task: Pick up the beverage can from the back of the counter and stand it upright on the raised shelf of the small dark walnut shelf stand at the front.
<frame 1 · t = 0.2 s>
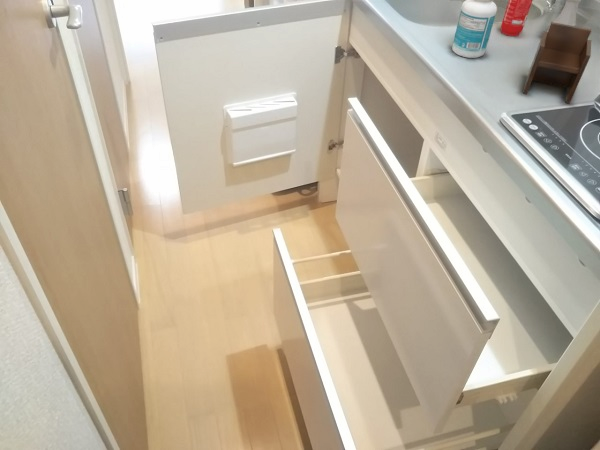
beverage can: (509, 33, 128), on the countertop
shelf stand: (547, 90, 107), on the countertop
pill bottle: (467, 53, 119), on the countertop
flask: (558, 40, 126), on the countertop
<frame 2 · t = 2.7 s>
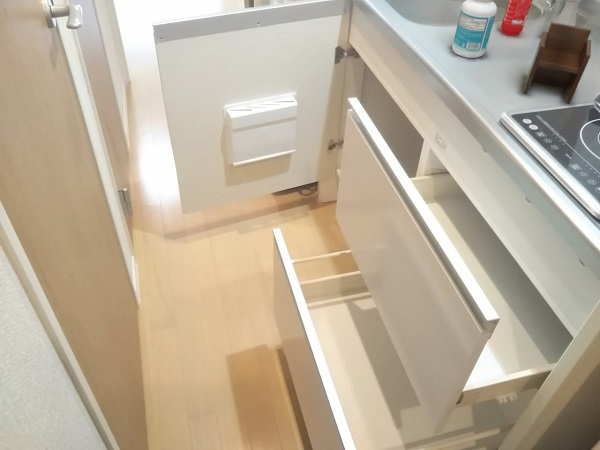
nothing on the countertop moved.
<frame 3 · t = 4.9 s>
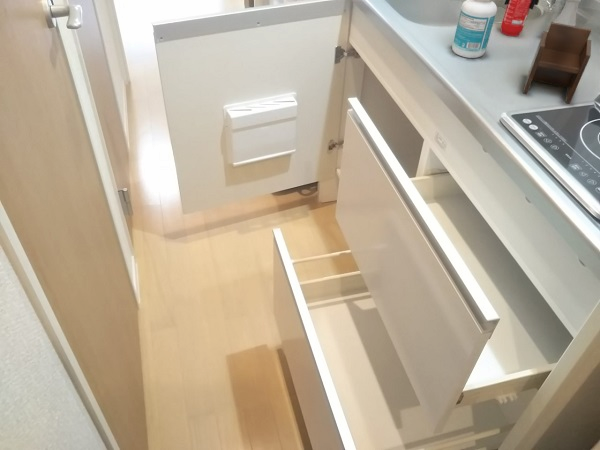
hand: (519, 4, 124), 7 cm above the countertop, tool pointing down, fingers closed on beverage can, 5 cm apart
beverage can: (509, 33, 128), on the countertop, touching gripper
everything else where it was.
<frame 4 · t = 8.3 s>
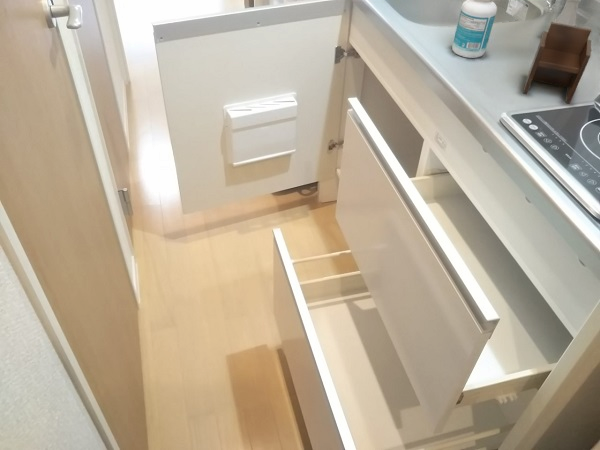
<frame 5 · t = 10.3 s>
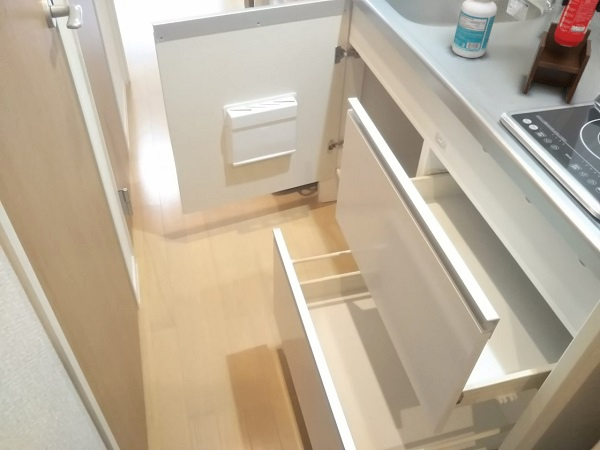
hand: (581, 5, 95), 17 cm above the countertop, tool pointing down, fingers closed on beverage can, 5 cm apart
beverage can: (565, 42, 100), point 10 cm above the countertop, touching gripper
everything else where it was.
when the fingers open (14 cm above the countertop, at t = 11.6 s): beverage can stays where it is, resting on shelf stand.
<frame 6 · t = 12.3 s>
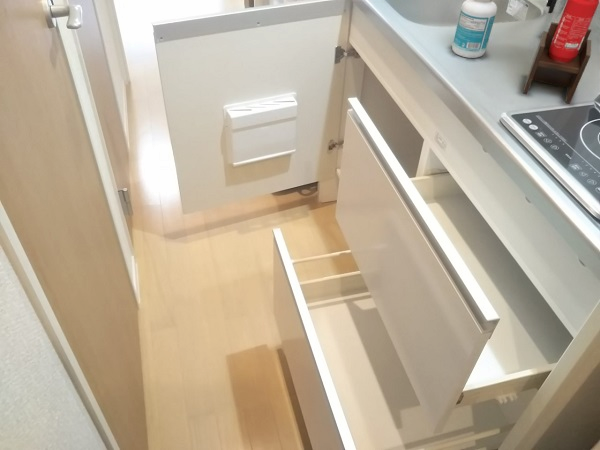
hand: (577, 15, 96), 15 cm above the countertop, tool pointing down, fingers open, 9 cm apart
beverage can: (560, 58, 102), point 7 cm above the countertop, touching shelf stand
everything else where it was.
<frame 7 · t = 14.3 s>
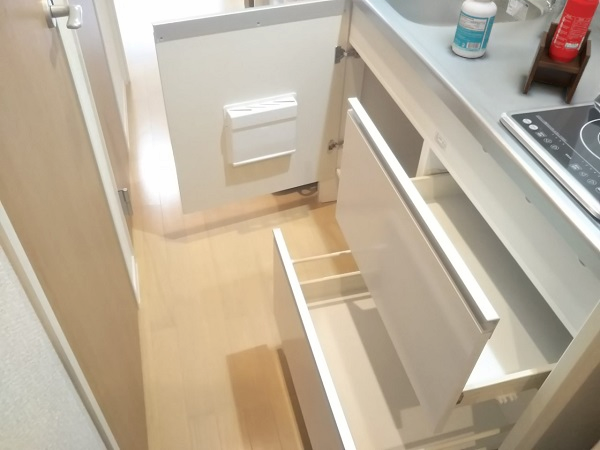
nothing on the countertop moved.
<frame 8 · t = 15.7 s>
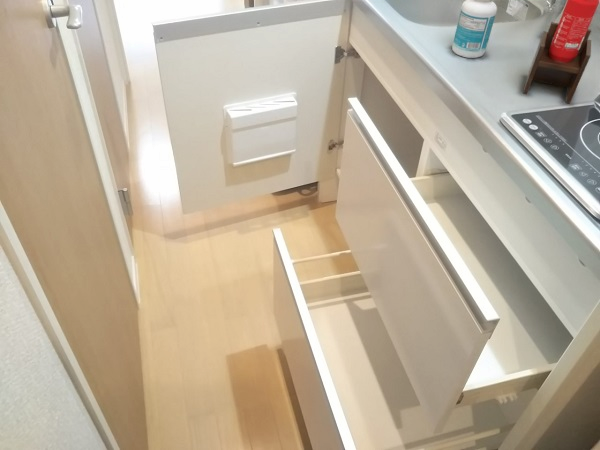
nothing on the countertop moved.
at the end: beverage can 0.2 cm off-centre on the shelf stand, point 6.8 cm above the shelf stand's base; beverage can tilted 0°; the gripper is holding nothing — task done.
